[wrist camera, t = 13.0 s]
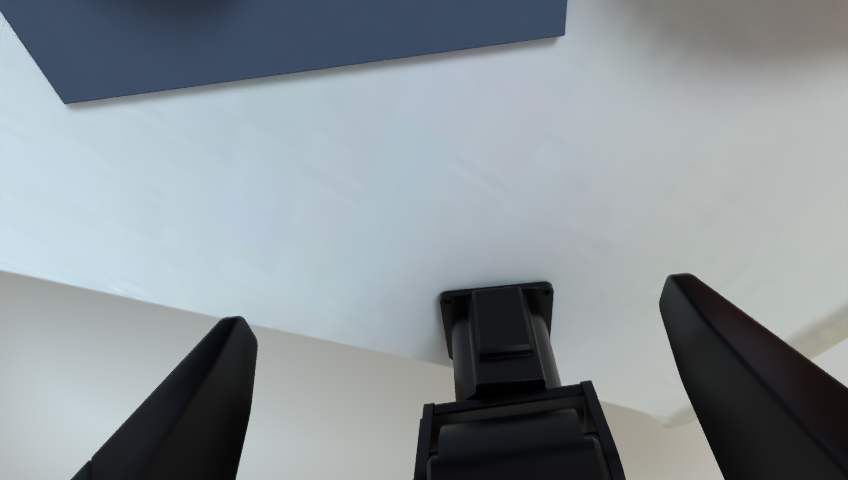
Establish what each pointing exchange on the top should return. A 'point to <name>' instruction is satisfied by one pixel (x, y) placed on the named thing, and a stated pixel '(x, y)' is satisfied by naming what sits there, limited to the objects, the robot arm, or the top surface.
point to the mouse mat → (251, 37)
